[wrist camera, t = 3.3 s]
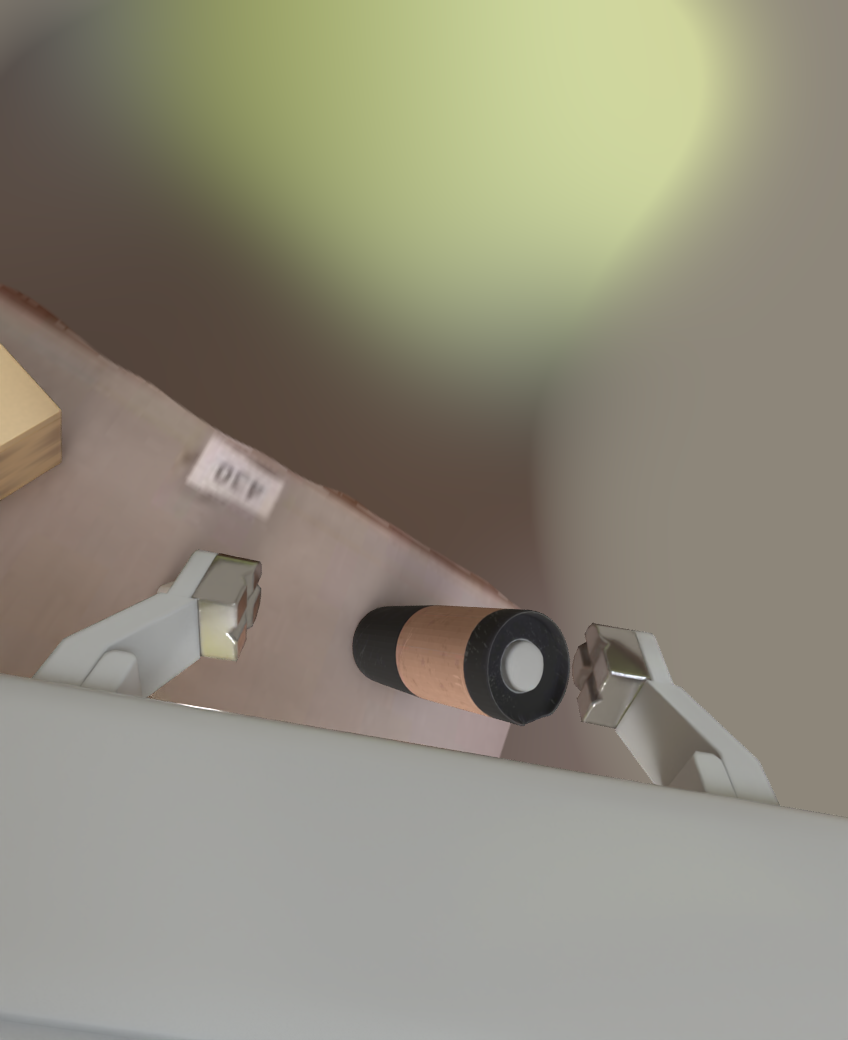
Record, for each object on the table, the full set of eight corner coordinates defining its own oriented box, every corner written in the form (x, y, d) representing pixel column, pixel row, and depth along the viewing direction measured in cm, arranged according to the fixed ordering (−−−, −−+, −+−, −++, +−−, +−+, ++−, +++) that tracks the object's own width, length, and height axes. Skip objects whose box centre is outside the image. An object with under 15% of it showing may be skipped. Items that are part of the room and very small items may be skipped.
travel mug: (377, 587, 54) (518, 585, 37) (432, 632, 57) (586, 648, 40) (333, 657, 51) (465, 689, 34) (393, 700, 54) (543, 749, 37)
